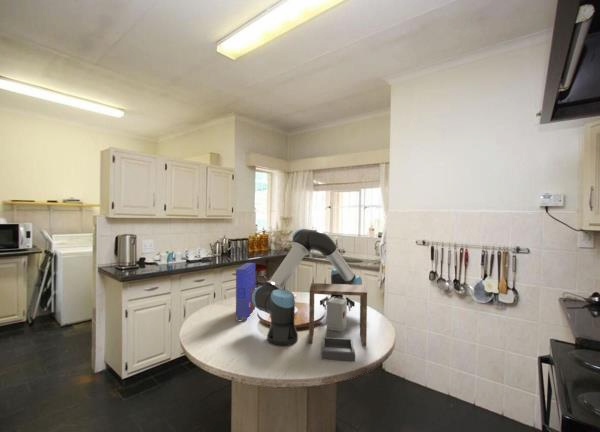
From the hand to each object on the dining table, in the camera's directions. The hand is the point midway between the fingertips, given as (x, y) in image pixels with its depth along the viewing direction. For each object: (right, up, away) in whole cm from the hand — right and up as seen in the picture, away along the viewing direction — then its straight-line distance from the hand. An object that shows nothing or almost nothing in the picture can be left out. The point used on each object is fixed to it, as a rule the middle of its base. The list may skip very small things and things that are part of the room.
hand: (337, 307), depth 158 cm
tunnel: (-2, -10, -16) cm, 19 cm away
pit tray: (-4, -10, -31) cm, 33 cm away
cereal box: (-54, -9, +16) cm, 57 cm away
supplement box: (-1, -10, -3) cm, 11 cm away
